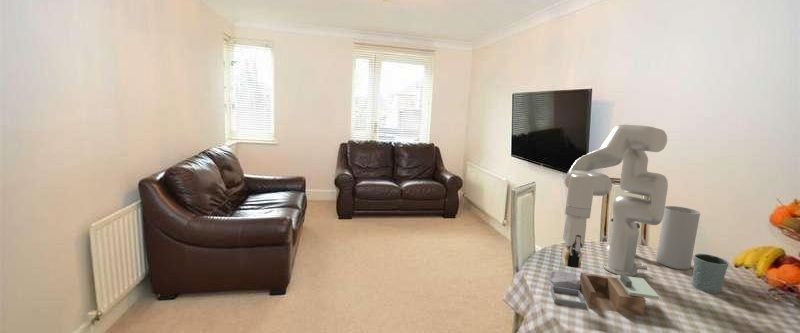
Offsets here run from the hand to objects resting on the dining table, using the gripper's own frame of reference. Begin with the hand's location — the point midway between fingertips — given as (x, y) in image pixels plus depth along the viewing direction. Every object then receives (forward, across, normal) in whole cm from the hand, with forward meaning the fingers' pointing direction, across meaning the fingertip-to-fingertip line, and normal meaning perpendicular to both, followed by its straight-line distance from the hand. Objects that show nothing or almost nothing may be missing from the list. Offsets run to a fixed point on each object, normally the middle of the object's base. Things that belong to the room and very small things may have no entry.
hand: (571, 263), depth 126 cm
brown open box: (+14, -4, +14) cm, 20 cm away
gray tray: (+14, 0, 0) cm, 14 cm away
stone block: (+14, -14, +1) cm, 20 cm away
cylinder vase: (+13, -53, +53) cm, 76 cm away
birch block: (0, 0, 0) cm, 0 cm away
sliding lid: (+7, -5, +22) cm, 24 cm away
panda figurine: (+13, -63, +35) cm, 73 cm away
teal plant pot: (+14, -30, +55) cm, 64 cm away
